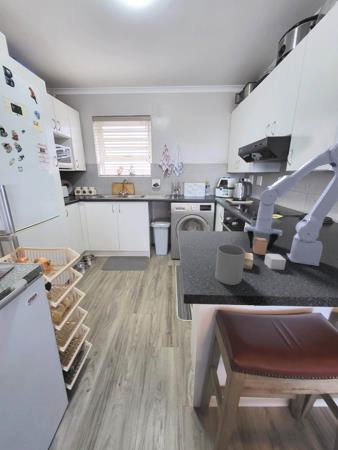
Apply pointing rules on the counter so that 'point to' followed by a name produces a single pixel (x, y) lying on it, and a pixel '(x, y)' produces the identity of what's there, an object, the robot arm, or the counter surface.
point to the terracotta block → (260, 246)
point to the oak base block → (248, 261)
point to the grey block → (275, 261)
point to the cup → (229, 264)
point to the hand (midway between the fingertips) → (259, 248)
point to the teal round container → (260, 235)
